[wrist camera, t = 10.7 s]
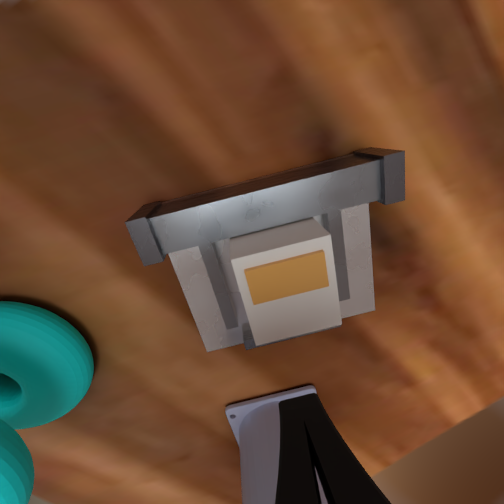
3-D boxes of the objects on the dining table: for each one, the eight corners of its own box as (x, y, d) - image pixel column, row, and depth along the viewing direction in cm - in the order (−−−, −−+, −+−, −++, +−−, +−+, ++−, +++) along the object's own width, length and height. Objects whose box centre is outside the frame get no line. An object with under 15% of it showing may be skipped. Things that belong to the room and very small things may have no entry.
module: (311, 273, 19) (343, 327, 14) (247, 290, 19) (256, 349, 14) (299, 204, 17) (332, 236, 12) (228, 222, 17) (230, 262, 12)
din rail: (374, 304, 21) (405, 340, 18) (203, 347, 22) (199, 391, 18) (365, 146, 17) (404, 150, 13) (146, 202, 17) (124, 222, 13)
